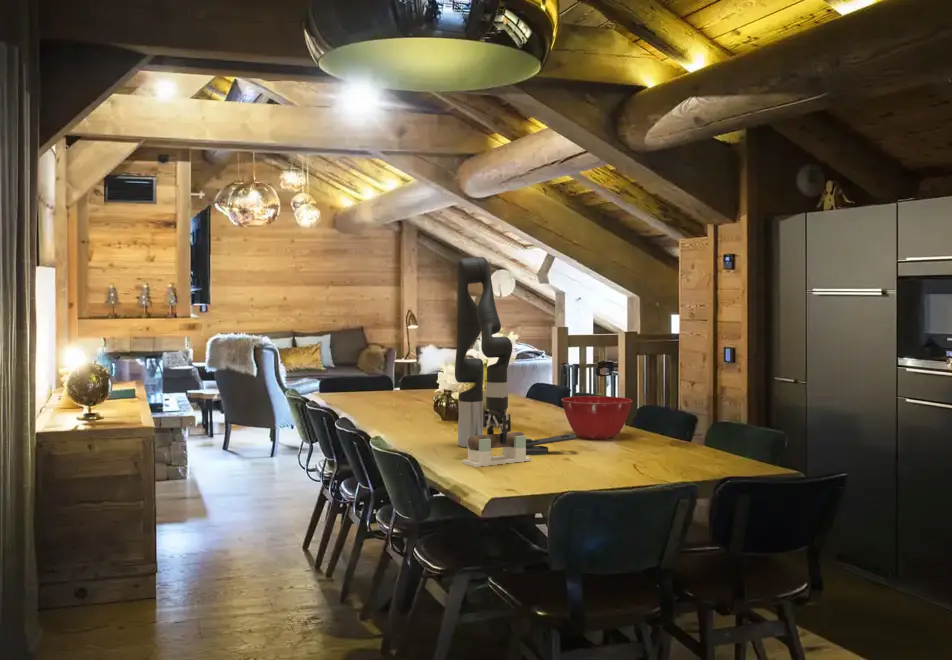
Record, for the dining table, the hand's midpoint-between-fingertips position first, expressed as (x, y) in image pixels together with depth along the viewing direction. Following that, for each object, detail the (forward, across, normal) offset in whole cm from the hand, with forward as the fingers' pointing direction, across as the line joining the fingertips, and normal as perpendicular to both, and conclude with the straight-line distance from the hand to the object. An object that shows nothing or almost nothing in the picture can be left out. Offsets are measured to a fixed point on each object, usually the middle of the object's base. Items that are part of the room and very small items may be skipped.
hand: (496, 442), depth 316 cm
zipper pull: (+7, -7, +24) cm, 26 cm away
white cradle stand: (+7, 0, 0) cm, 7 cm away
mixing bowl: (+7, -28, +64) cm, 70 cm away
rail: (+2, 0, 0) cm, 2 cm away
